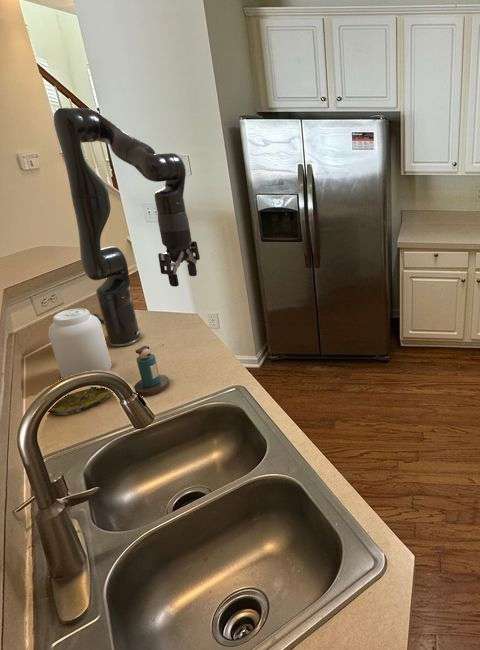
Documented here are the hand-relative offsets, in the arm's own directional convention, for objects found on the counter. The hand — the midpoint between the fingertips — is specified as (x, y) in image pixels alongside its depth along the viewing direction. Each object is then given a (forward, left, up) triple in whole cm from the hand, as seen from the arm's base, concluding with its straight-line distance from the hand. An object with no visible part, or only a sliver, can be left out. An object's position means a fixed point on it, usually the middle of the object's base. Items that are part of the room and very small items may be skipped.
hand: (184, 280), depth 127 cm
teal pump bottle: (+4, -15, -27) cm, 31 cm away
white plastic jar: (-18, -26, -28) cm, 42 cm away
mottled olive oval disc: (-2, -31, -28) cm, 42 cm away
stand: (+4, -15, -28) cm, 32 cm away
